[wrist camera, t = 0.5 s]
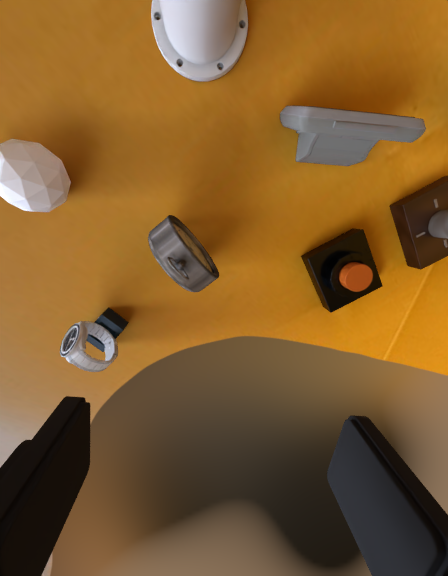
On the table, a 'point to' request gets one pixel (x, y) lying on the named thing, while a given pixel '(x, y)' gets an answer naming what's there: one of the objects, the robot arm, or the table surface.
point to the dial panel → (421, 224)
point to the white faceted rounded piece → (32, 176)
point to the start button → (355, 276)
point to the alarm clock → (182, 255)
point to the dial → (439, 224)
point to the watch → (93, 341)
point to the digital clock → (345, 133)
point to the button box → (339, 268)
